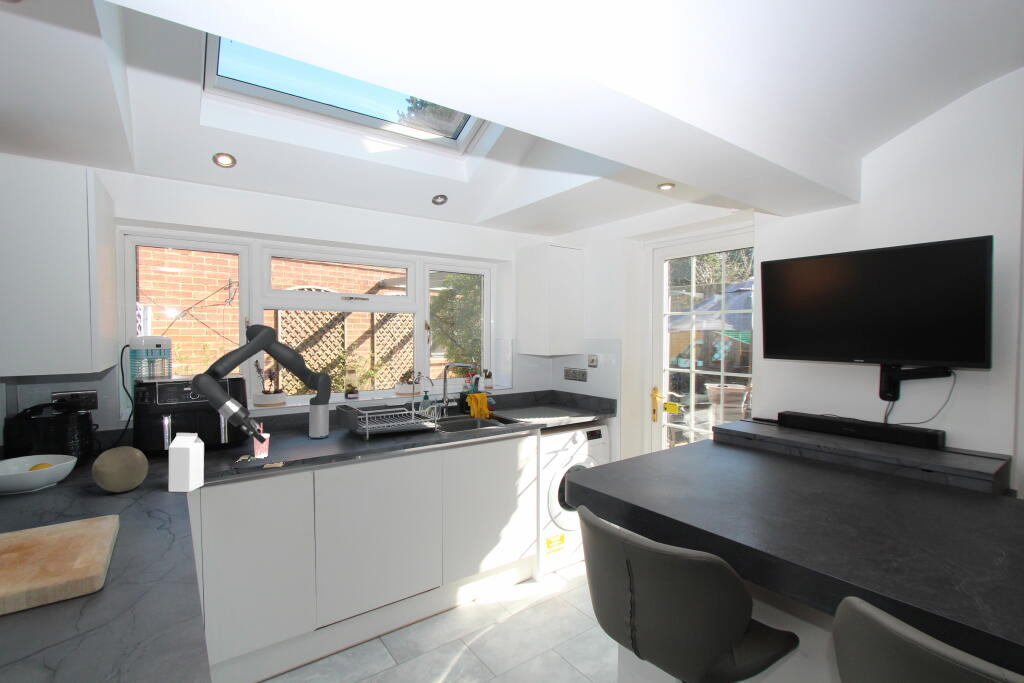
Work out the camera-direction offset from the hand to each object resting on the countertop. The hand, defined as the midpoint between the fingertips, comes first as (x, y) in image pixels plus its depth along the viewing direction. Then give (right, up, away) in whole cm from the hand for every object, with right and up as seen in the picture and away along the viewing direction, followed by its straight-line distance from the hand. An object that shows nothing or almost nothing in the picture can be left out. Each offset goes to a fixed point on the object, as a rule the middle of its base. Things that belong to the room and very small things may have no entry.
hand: (266, 439), depth 196 cm
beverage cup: (-2, -7, 0) cm, 7 cm away
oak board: (-2, -9, 0) cm, 9 cm away
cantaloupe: (-27, -9, -40) cm, 49 cm away
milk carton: (-9, -10, -35) cm, 37 cm away
